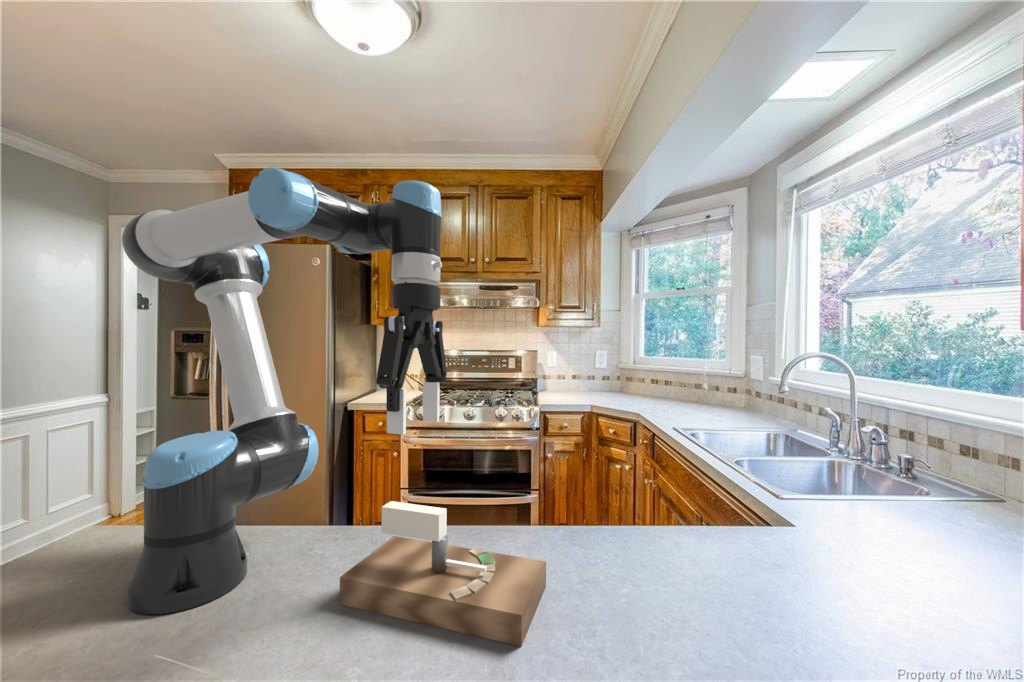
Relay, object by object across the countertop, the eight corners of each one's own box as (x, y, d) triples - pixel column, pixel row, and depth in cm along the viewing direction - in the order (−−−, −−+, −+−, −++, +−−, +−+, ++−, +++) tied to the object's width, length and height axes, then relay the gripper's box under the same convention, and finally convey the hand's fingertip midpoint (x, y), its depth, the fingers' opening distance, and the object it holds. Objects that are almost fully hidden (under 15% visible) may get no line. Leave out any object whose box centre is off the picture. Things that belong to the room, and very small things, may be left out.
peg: (381, 561, 66) (381, 506, 66) (390, 553, 69) (391, 500, 69) (482, 580, 61) (483, 521, 61) (488, 571, 63) (489, 514, 64)
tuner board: (339, 604, 62) (339, 575, 62) (394, 557, 76) (395, 533, 76) (521, 646, 54) (521, 612, 54) (546, 584, 68) (546, 558, 68)
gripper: (397, 271, 54) (395, 444, 54) (467, 292, 76) (465, 416, 76) (348, 274, 57) (347, 440, 56) (429, 293, 78) (428, 413, 78)
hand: (415, 426), depth 66 cm, fingers open, 10 cm apart
